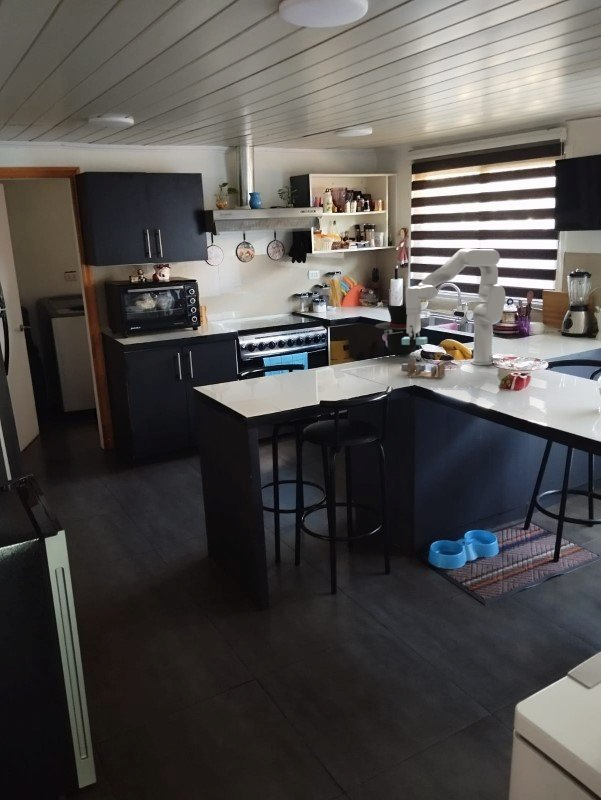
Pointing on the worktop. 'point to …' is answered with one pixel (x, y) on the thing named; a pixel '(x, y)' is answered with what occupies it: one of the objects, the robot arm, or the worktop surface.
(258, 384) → the worktop surface
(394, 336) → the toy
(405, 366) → the riser
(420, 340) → the shelf board
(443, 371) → the peg cradle
